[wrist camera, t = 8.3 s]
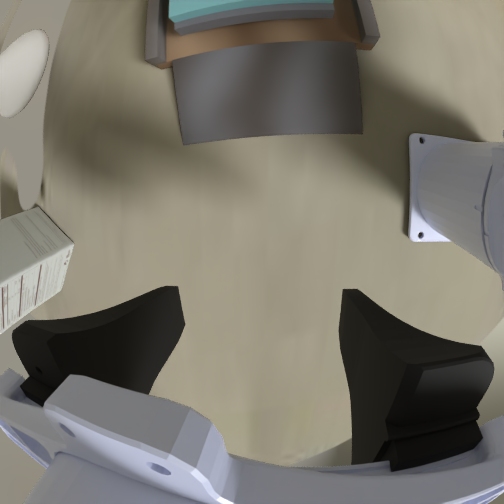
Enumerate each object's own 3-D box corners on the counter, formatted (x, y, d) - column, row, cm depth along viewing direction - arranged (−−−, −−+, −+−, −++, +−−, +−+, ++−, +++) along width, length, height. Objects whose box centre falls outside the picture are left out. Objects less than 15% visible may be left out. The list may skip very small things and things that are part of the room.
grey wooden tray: (345, -34, 12) (350, -61, 8) (380, 136, 17) (399, 131, 13) (167, -14, 15) (146, -34, 11) (169, 149, 20) (141, 148, 16)
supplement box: (29, 253, 26) (-45, 293, 14) (39, 204, 23) (-51, 237, 11) (63, 291, 26) (-12, 346, 15) (77, 244, 24) (-20, 296, 12)
